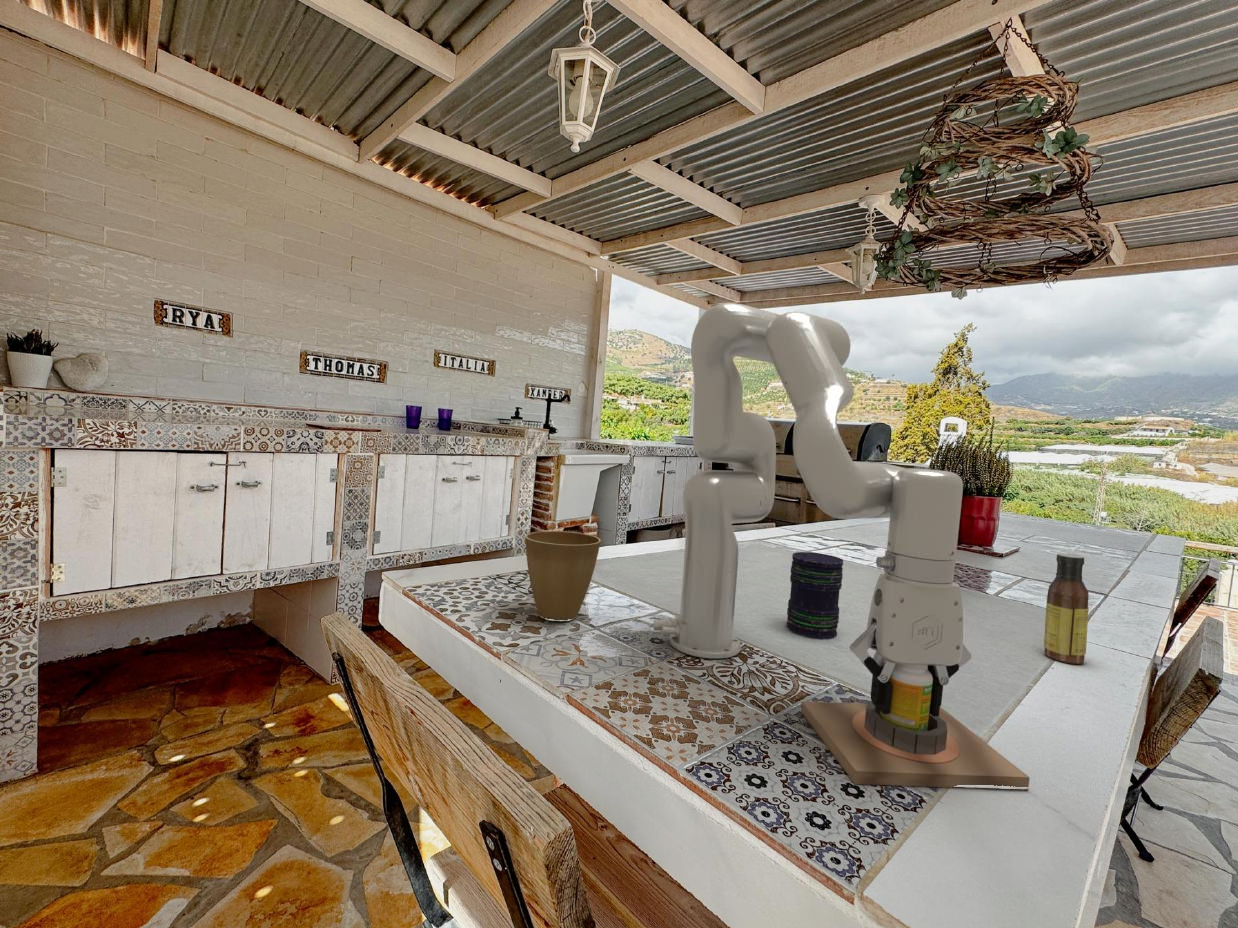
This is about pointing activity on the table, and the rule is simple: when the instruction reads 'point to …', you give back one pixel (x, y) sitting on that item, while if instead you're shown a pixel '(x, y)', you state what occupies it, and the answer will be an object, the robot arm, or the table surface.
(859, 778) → the socket board
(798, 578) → the storage jar
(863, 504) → the robot arm
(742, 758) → the table surface
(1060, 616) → the sauce bottle
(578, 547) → the plant pot
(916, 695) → the supplement bottle
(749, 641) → the table surface
